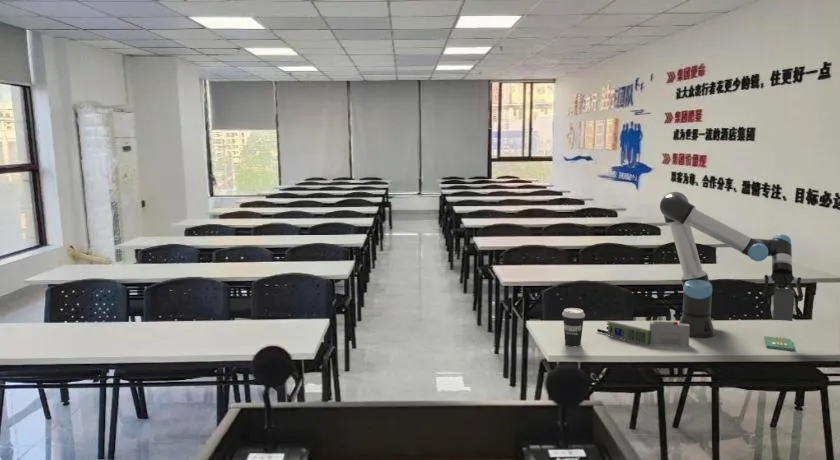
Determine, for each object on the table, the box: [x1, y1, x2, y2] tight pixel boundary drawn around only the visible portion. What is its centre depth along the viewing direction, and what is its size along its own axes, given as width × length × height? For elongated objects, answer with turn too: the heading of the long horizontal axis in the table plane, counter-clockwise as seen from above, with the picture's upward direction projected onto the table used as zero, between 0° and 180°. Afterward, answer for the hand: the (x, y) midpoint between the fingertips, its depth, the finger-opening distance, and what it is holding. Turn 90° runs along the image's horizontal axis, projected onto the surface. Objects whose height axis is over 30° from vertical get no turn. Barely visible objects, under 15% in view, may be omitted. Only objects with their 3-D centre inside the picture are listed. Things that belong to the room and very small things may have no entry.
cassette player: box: [649, 320, 690, 347], centre depth 257 cm, size 16×3×10 cm, turn 79°
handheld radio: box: [596, 320, 651, 346], centre depth 265 cm, size 7×3×25 cm
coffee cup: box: [561, 307, 586, 347], centre depth 257 cm, size 10×10×15 cm
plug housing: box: [771, 287, 794, 322], centre depth 251 cm, size 7×7×12 cm
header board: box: [763, 335, 795, 352], centre depth 255 cm, size 10×14×4 cm
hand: (783, 311), depth 248 cm, fingers closed on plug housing, 7 cm apart
